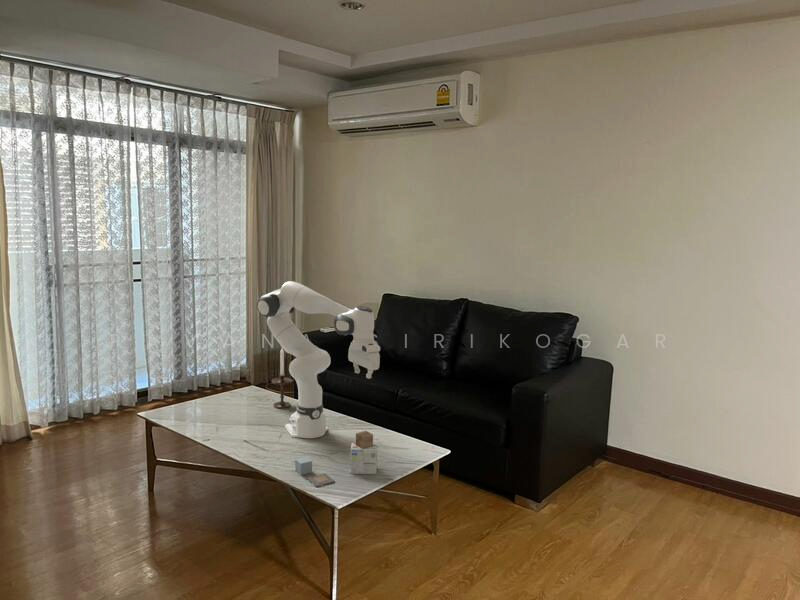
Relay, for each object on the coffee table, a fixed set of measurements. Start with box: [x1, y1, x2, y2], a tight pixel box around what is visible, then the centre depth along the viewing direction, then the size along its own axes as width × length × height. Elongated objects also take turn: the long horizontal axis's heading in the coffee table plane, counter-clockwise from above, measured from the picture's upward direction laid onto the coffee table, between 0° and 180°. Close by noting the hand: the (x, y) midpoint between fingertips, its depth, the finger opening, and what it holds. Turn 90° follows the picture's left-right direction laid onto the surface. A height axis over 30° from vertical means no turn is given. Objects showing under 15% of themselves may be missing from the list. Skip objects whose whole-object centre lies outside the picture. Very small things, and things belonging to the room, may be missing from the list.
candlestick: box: [271, 347, 293, 410], centre depth 310 cm, size 11×11×35 cm
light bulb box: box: [350, 442, 378, 475], centre depth 236 cm, size 11×7×11 cm, turn 92°
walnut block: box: [355, 430, 374, 449], centre depth 235 cm, size 5×5×5 cm
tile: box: [306, 472, 336, 488], centre depth 227 cm, size 8×8×1 cm
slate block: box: [294, 456, 313, 476], centre depth 234 cm, size 5×5×5 cm
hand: (362, 375), depth 252 cm, fingers open, 8 cm apart
